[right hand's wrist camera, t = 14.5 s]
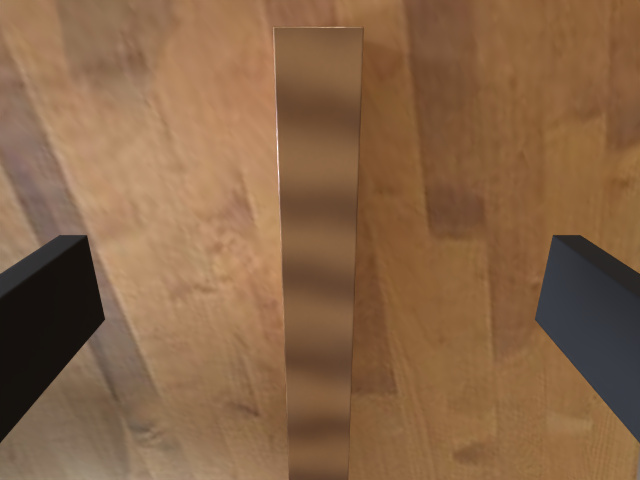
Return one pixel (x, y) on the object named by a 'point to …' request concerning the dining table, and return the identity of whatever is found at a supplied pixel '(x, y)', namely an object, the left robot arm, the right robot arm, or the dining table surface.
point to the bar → (318, 237)
